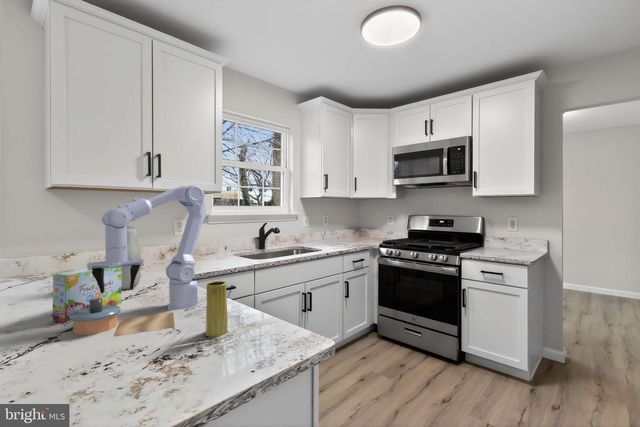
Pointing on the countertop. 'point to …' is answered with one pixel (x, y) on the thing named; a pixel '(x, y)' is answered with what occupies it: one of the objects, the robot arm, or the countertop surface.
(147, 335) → the countertop surface
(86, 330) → the terracotta pot
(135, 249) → the grey bottle
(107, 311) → the lid
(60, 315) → the snack box
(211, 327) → the vase
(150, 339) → the countertop surface
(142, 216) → the robot arm
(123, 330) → the oak board
